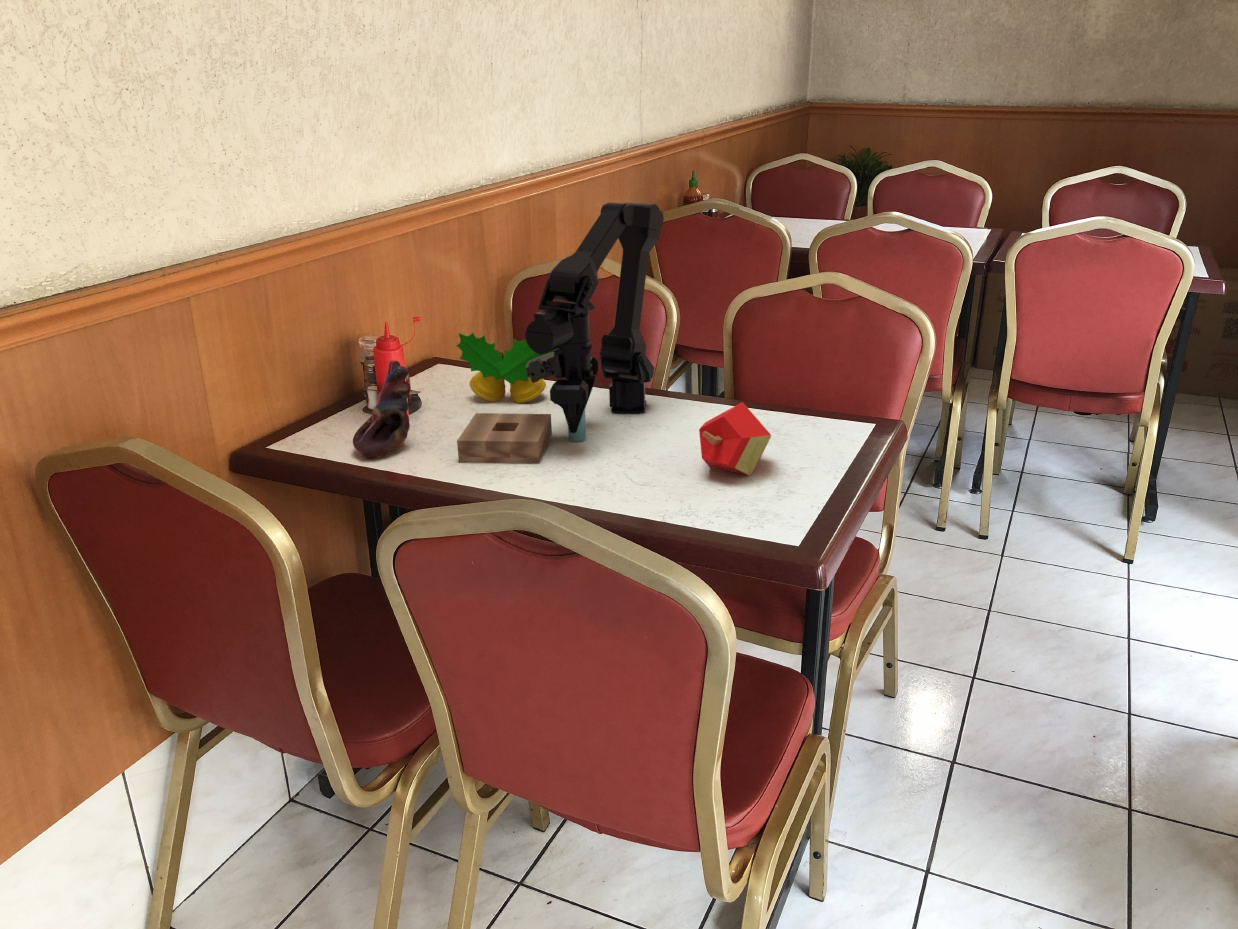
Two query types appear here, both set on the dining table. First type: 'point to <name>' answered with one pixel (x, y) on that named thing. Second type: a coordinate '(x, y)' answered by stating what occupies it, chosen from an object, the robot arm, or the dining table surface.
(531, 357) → the ornament
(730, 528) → the dining table surface
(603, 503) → the dining table surface
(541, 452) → the hole block
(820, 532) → the dining table surface
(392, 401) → the anatomical model
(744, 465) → the apple
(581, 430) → the dowel
